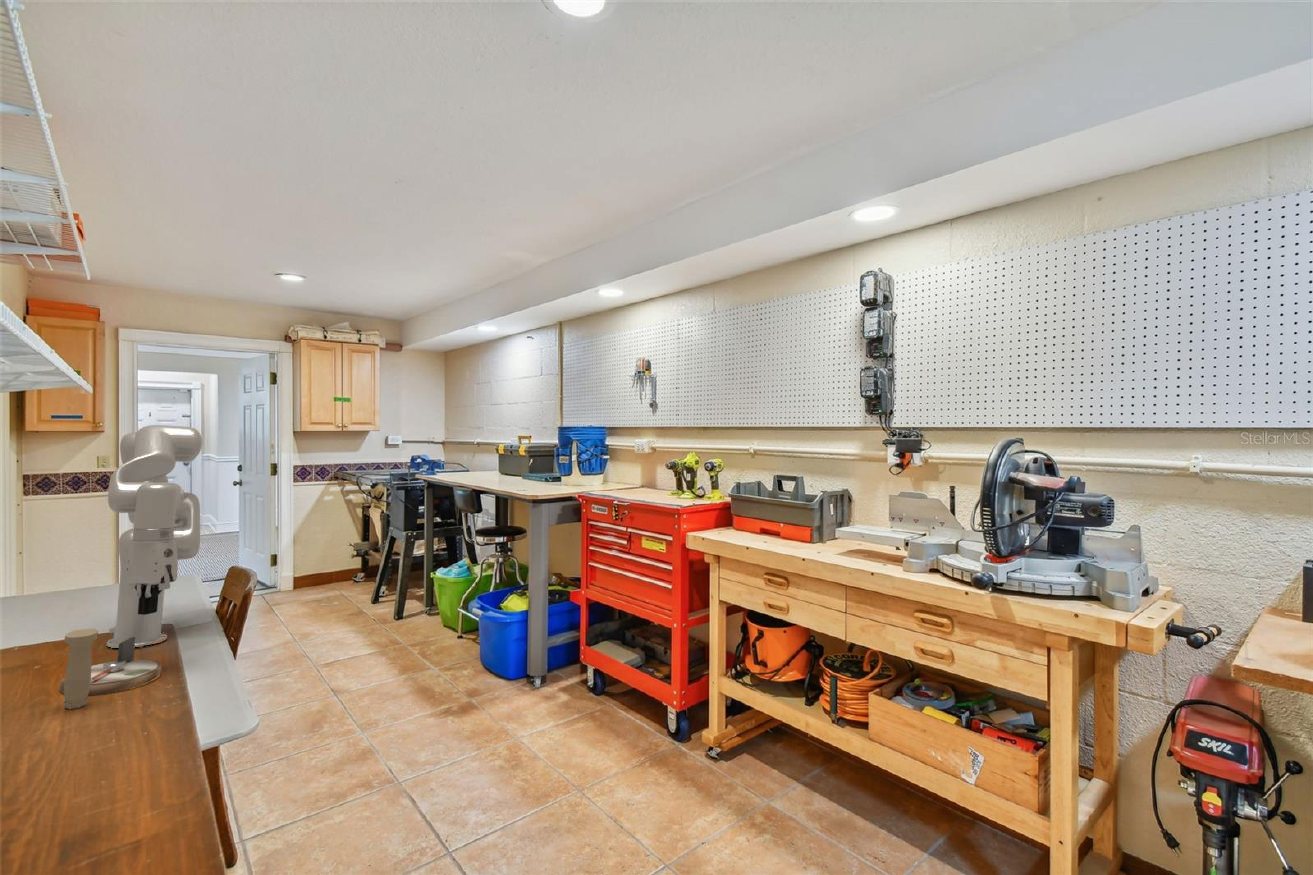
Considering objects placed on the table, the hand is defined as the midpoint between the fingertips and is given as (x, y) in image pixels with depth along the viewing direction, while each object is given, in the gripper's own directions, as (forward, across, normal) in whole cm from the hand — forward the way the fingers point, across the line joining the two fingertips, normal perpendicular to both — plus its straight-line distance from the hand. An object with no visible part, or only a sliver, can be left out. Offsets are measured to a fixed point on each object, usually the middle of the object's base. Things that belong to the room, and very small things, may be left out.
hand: (147, 613), depth 140 cm
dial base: (+14, +2, +5) cm, 15 cm away
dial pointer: (+12, +2, +5) cm, 13 cm away
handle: (+15, -5, +17) cm, 23 cm away
